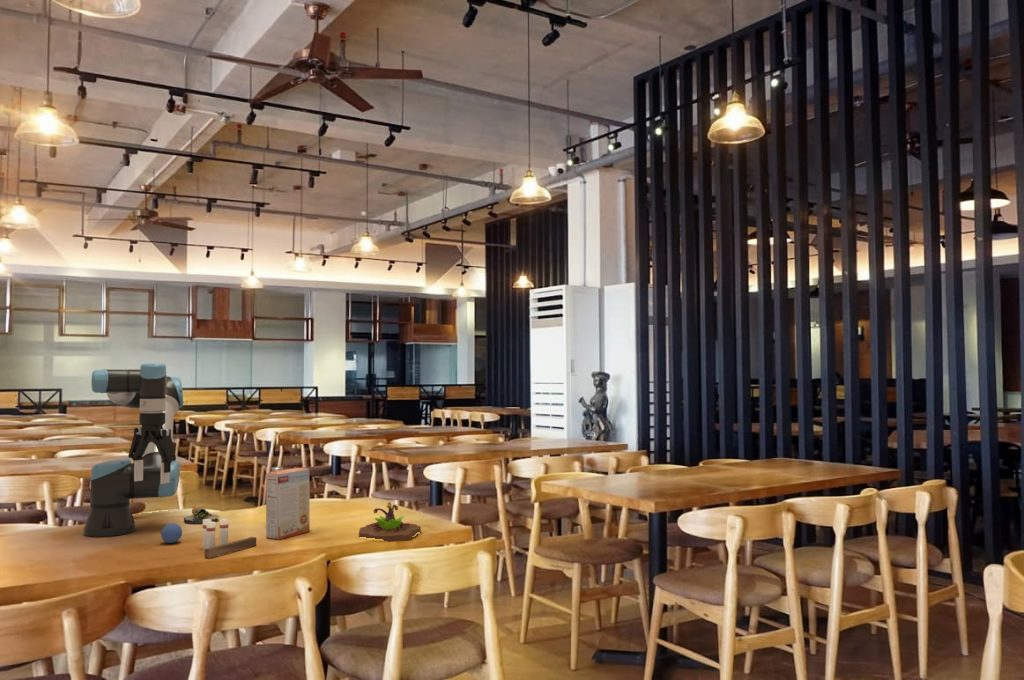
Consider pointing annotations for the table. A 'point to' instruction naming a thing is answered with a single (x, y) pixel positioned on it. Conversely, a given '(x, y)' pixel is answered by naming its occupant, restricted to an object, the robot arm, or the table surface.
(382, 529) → the plant
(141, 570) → the table surface
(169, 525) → the ball
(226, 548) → the back rail
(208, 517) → the dish garden
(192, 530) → the table surface
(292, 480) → the cracker box
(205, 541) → the front pin
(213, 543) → the back pin right
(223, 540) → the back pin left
